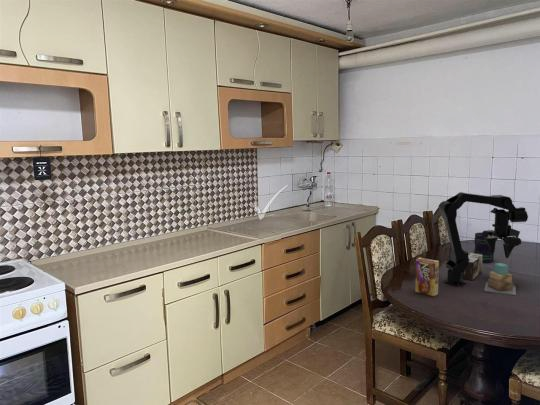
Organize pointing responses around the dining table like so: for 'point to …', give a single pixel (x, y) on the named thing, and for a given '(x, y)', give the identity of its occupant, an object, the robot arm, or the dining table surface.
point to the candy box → (427, 276)
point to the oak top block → (500, 277)
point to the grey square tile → (510, 292)
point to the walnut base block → (500, 285)
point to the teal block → (501, 268)
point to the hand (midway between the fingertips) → (499, 255)
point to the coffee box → (473, 266)
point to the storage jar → (483, 249)
